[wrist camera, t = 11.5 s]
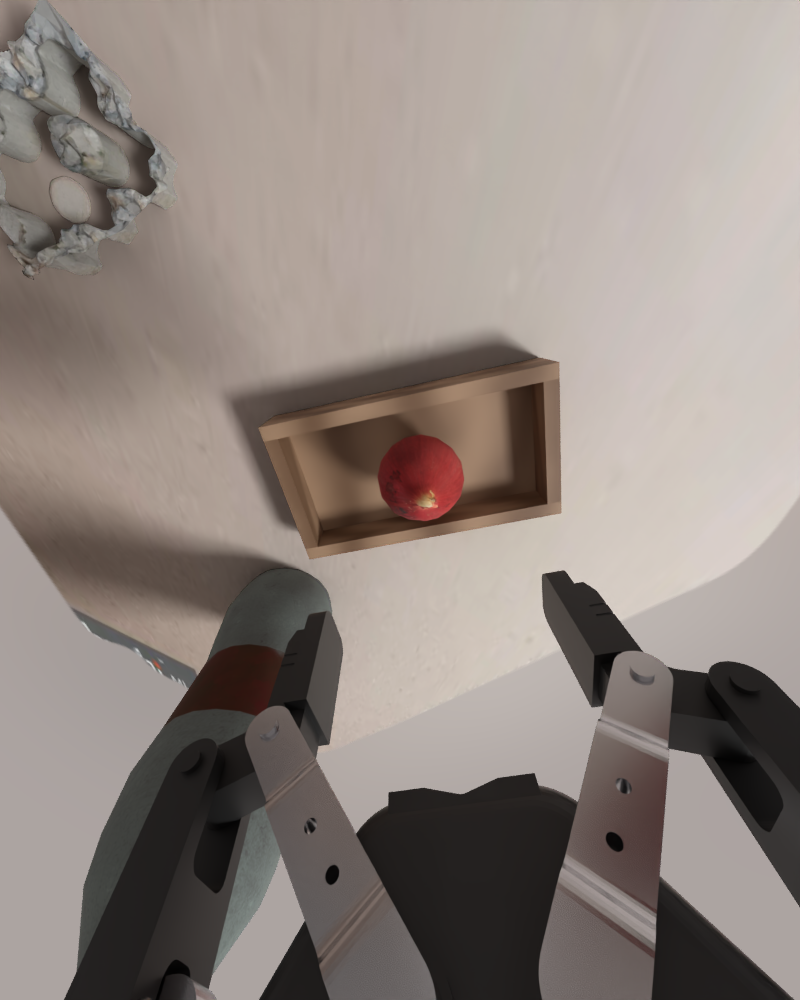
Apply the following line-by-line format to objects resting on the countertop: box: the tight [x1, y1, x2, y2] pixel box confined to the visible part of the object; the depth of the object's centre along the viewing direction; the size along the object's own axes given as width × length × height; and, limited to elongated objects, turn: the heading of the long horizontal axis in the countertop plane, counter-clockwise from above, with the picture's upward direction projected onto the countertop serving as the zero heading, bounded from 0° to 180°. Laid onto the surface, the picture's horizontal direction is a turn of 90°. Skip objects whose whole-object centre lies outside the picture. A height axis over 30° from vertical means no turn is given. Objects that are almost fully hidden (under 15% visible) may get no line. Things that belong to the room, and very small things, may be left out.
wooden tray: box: [259, 358, 561, 559], centre depth 27 cm, size 20×11×4 cm, turn 102°
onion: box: [377, 434, 464, 521], centre depth 24 cm, size 6×6×8 cm
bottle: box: [77, 568, 332, 975], centre depth 22 cm, size 9×9×30 cm
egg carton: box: [0, 0, 177, 280], centre depth 20 cm, size 11×8×4 cm
